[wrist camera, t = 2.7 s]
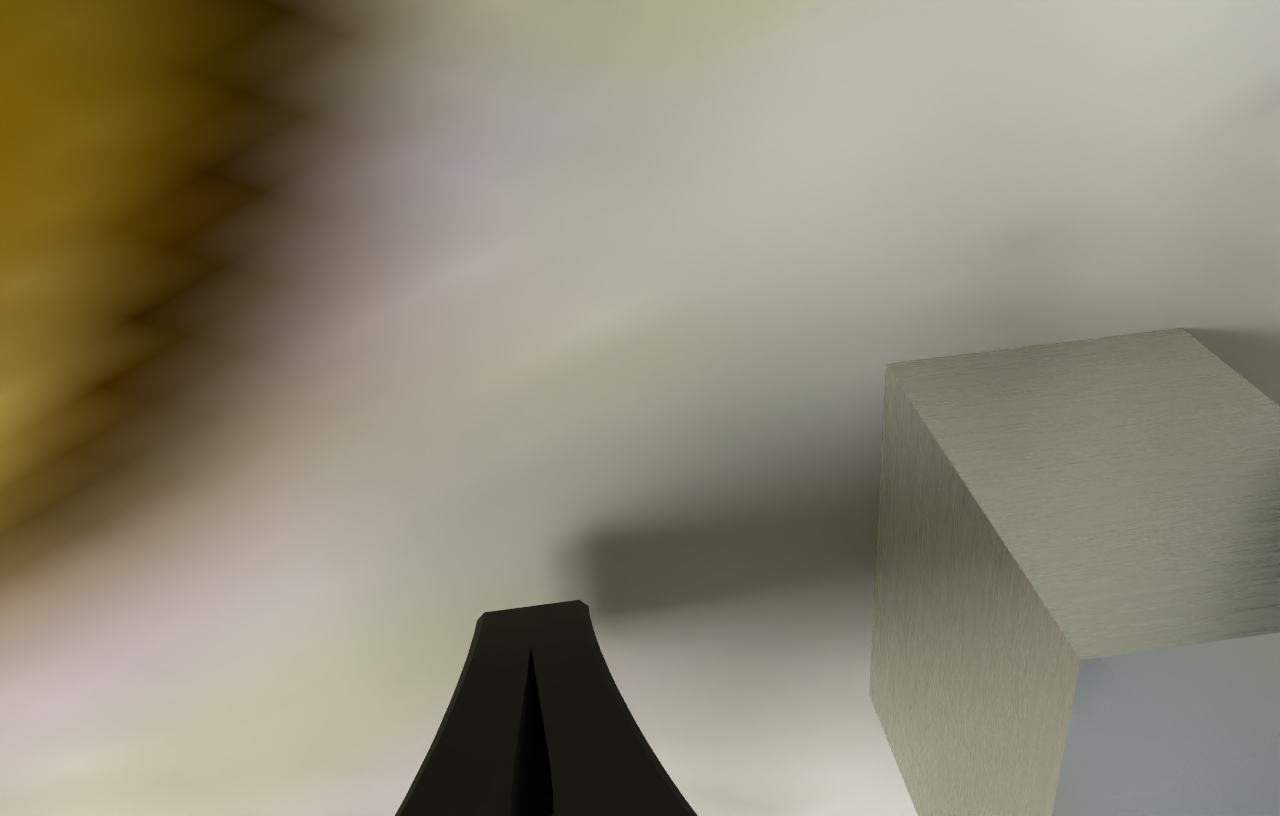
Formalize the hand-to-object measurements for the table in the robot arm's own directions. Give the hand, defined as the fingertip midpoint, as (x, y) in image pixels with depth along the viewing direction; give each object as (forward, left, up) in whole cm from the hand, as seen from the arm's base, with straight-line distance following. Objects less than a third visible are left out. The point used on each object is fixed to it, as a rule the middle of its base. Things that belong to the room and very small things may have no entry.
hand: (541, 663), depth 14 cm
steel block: (0, -7, -2) cm, 7 cm away
